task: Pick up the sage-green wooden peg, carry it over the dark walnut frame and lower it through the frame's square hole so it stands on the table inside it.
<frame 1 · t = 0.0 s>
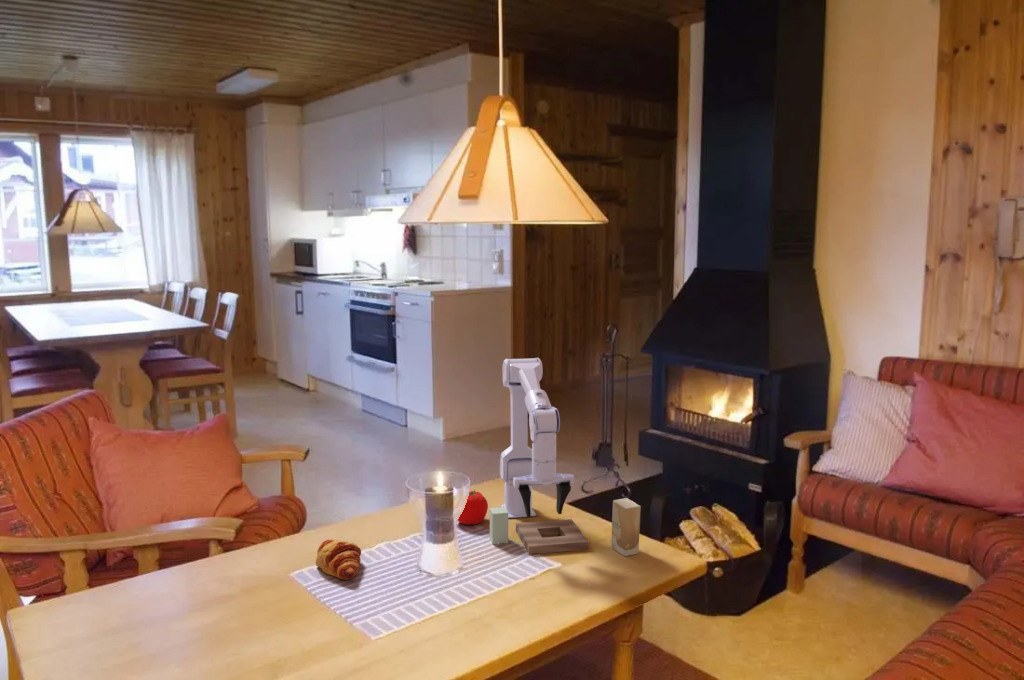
hand: (543, 513, 188), 10 cm above the table, tool pointing down, fingers open, 7 cm apart
croissant: (339, 567, 182), on the table
skincare box: (625, 551, 191), on the table
tomato: (470, 522, 209), on the table
walnut socket frame: (551, 539, 198), on the table
sage peg: (498, 540, 197), on the table
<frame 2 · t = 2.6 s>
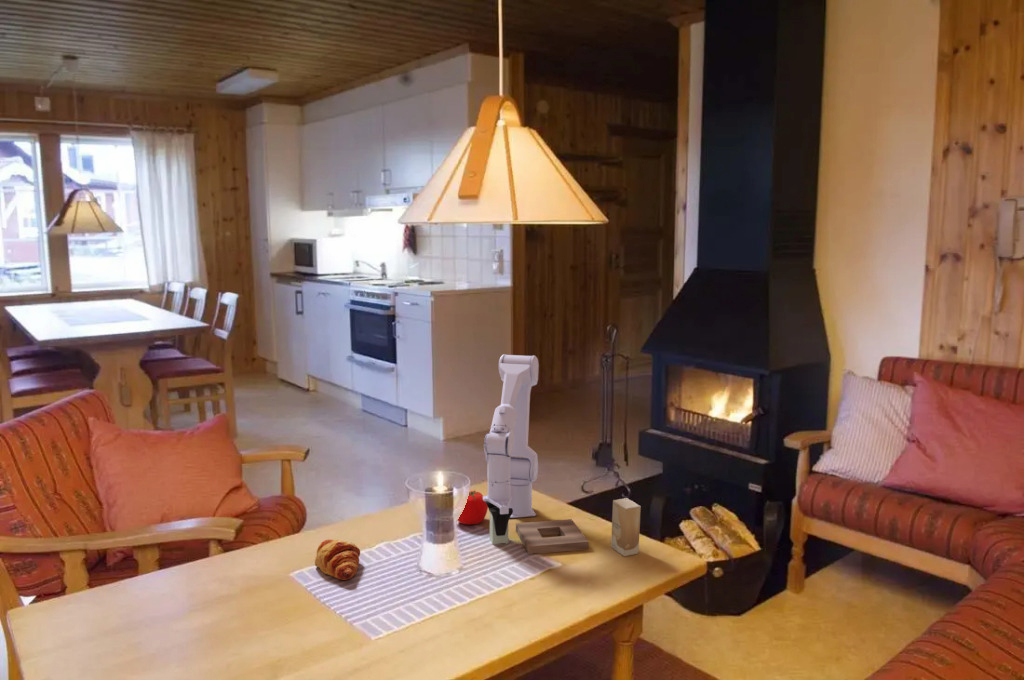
hand: (498, 531, 197), 2 cm above the table, tool pointing down, fingers closed on sage peg, 4 cm apart
sage peg: (498, 540, 197), on the table, touching gripper
everything else where it was.
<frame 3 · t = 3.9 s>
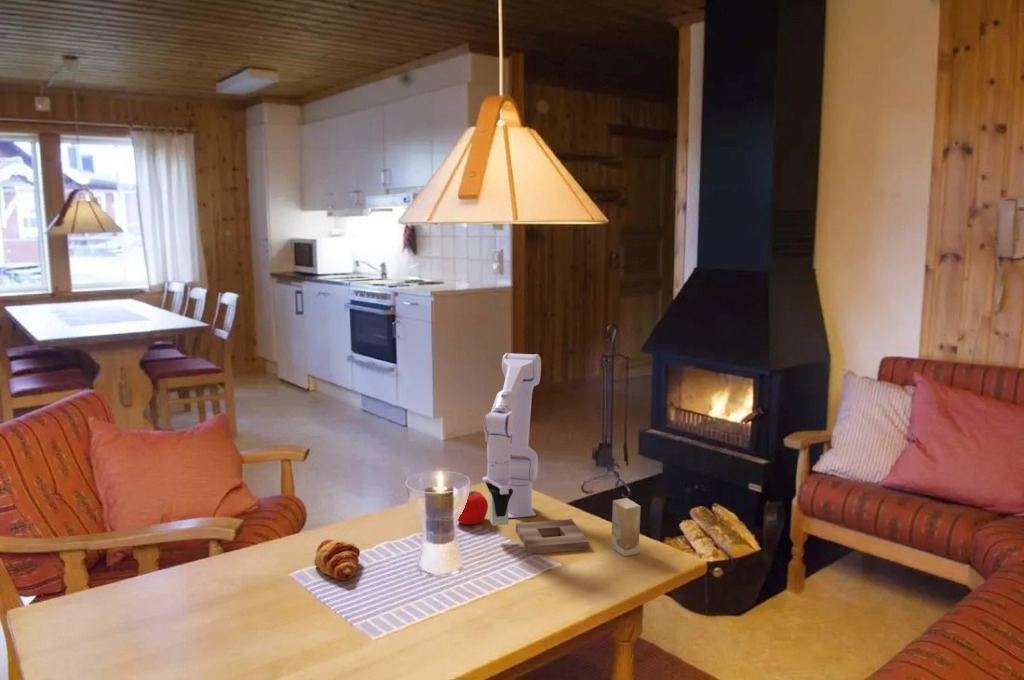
hand: (498, 512, 196), 7 cm above the table, tool pointing down, fingers closed on sage peg, 4 cm apart
sage peg: (498, 522, 196), point 5 cm above the table, touching gripper
everything else where it was.
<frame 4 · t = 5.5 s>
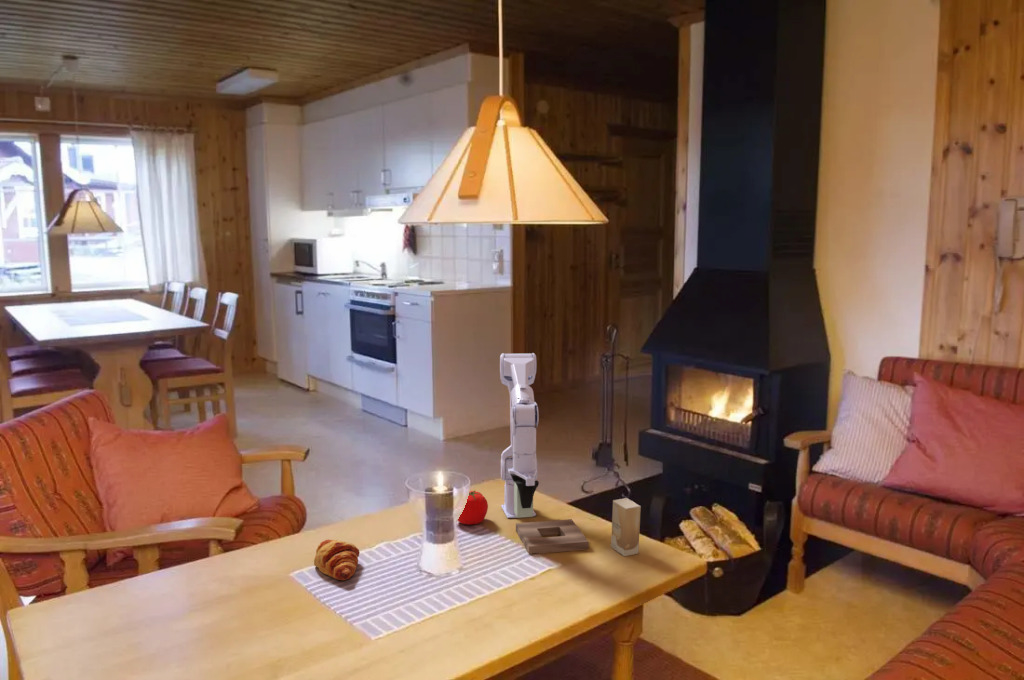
hand: (524, 504, 196), 9 cm above the table, tool pointing down, fingers closed on sage peg, 4 cm apart
sage peg: (523, 514, 196), point 7 cm above the table, touching gripper
everything else where it was.
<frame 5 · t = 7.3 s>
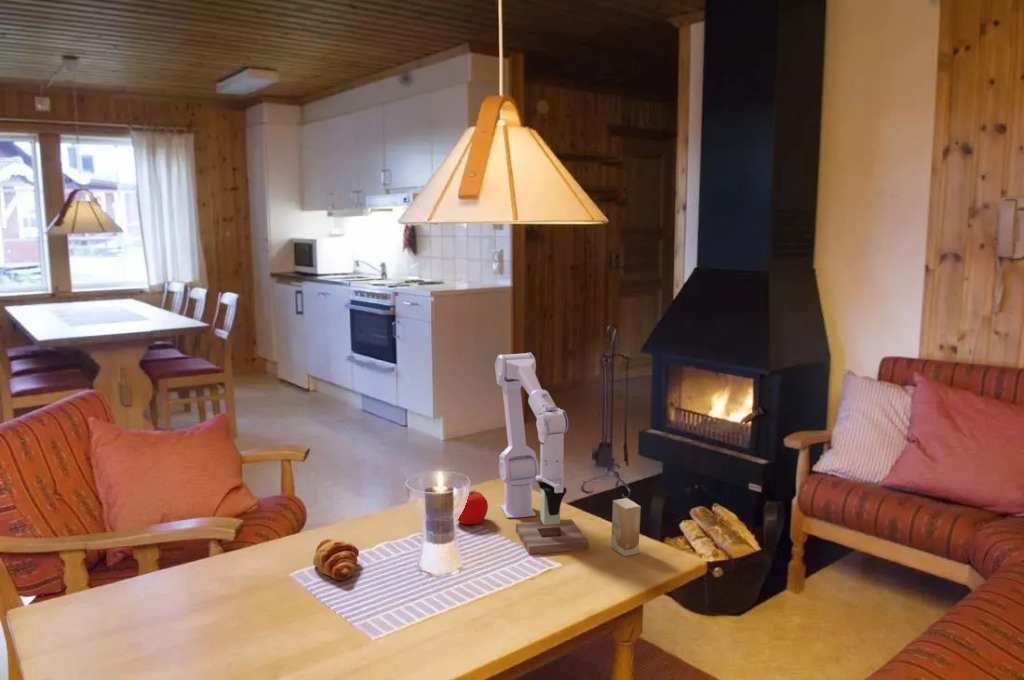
hand: (551, 511, 196), 7 cm above the table, tool pointing down, fingers closed on sage peg, 4 cm apart
sage peg: (550, 521, 197), point 5 cm above the table, touching gripper
everything else where it was.
when the fingers open (3 cm above the table, at t = 8.6 s): sage peg stays where it is, resting in walnut socket frame.
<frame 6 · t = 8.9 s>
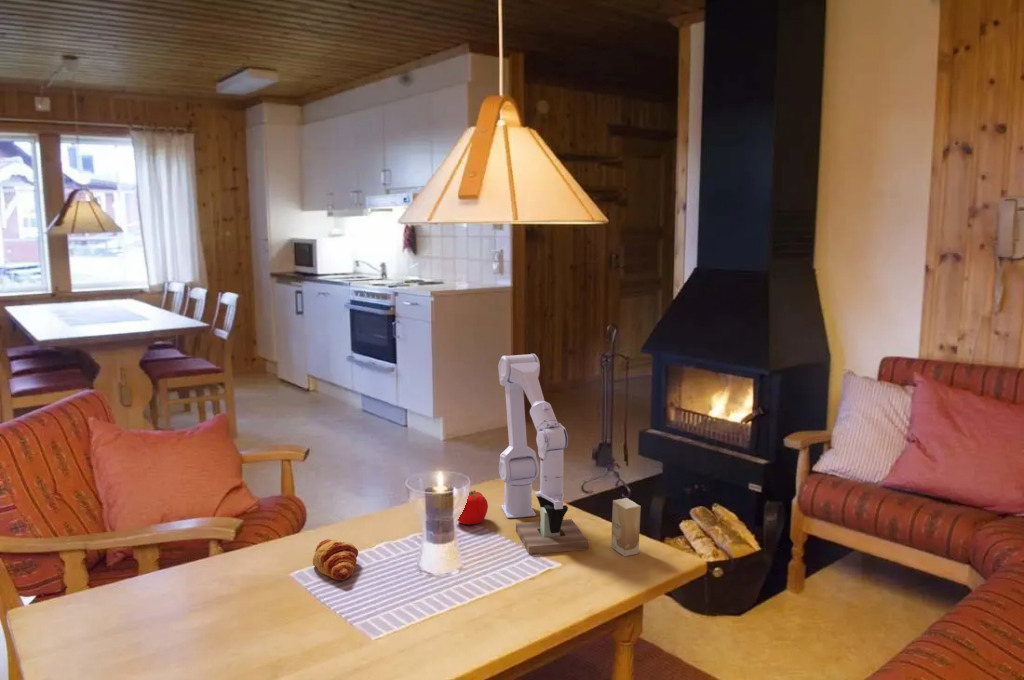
hand: (551, 526, 197), 3 cm above the table, tool pointing down, fingers open, 7 cm apart
sage peg: (550, 539, 198), resting in walnut socket frame
everything else where it was.
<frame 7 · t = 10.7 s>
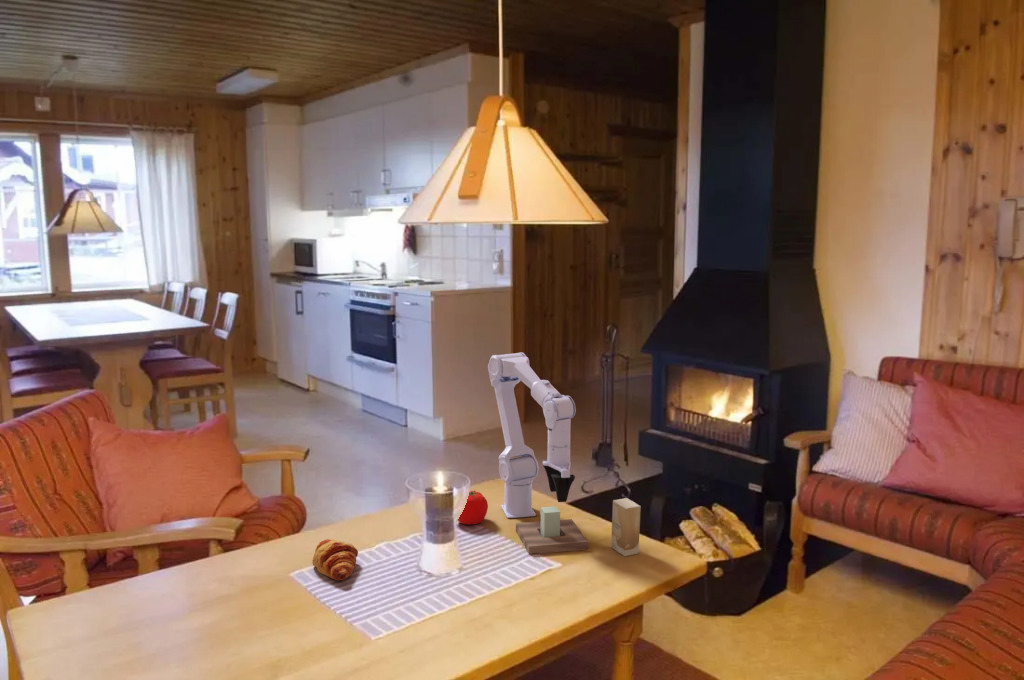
hand: (558, 496, 199), 10 cm above the table, tool pointing down, fingers open, 7 cm apart
nothing on the table moved.
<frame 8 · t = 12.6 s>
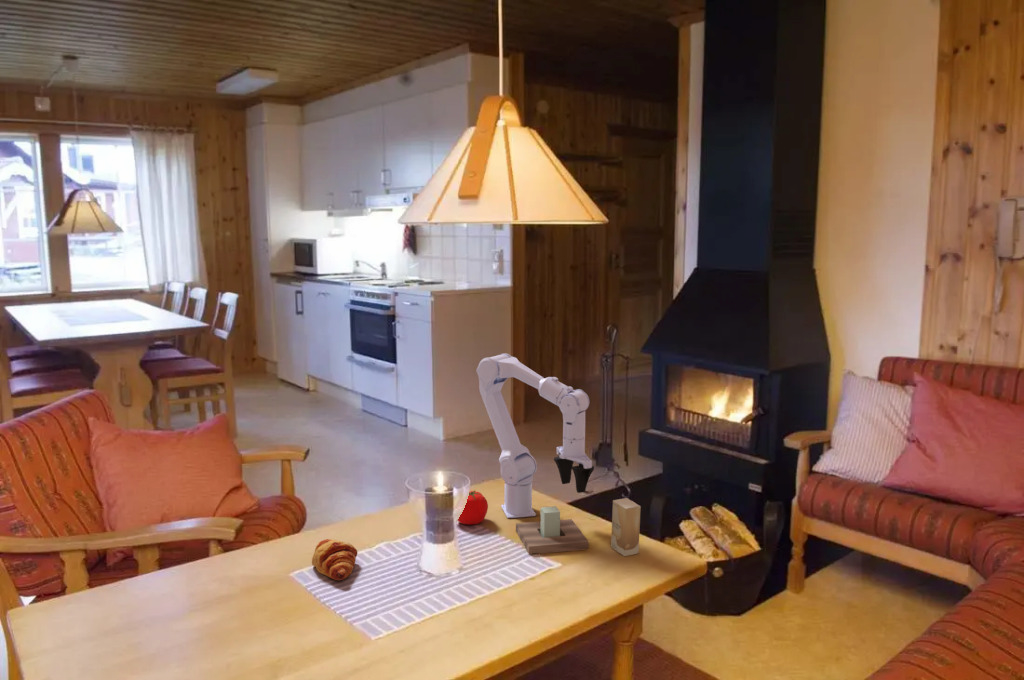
hand: (573, 487, 205), 10 cm above the table, tool pointing down, fingers open, 7 cm apart
nothing on the table moved.
at the end: sage peg 0.3 cm off-centre on the walnut socket frame, point 0.0 cm above the walnut socket frame's base; sage peg tilted 0°; the gripper is holding nothing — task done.
